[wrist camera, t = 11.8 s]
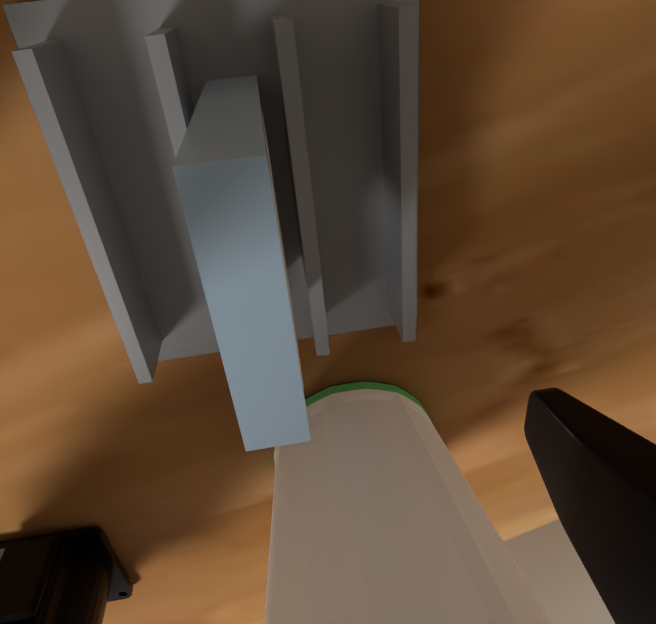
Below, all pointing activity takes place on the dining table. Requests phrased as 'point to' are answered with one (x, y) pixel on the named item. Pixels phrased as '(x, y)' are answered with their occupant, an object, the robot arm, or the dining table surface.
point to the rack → (283, 143)
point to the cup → (384, 523)
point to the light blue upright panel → (243, 260)
